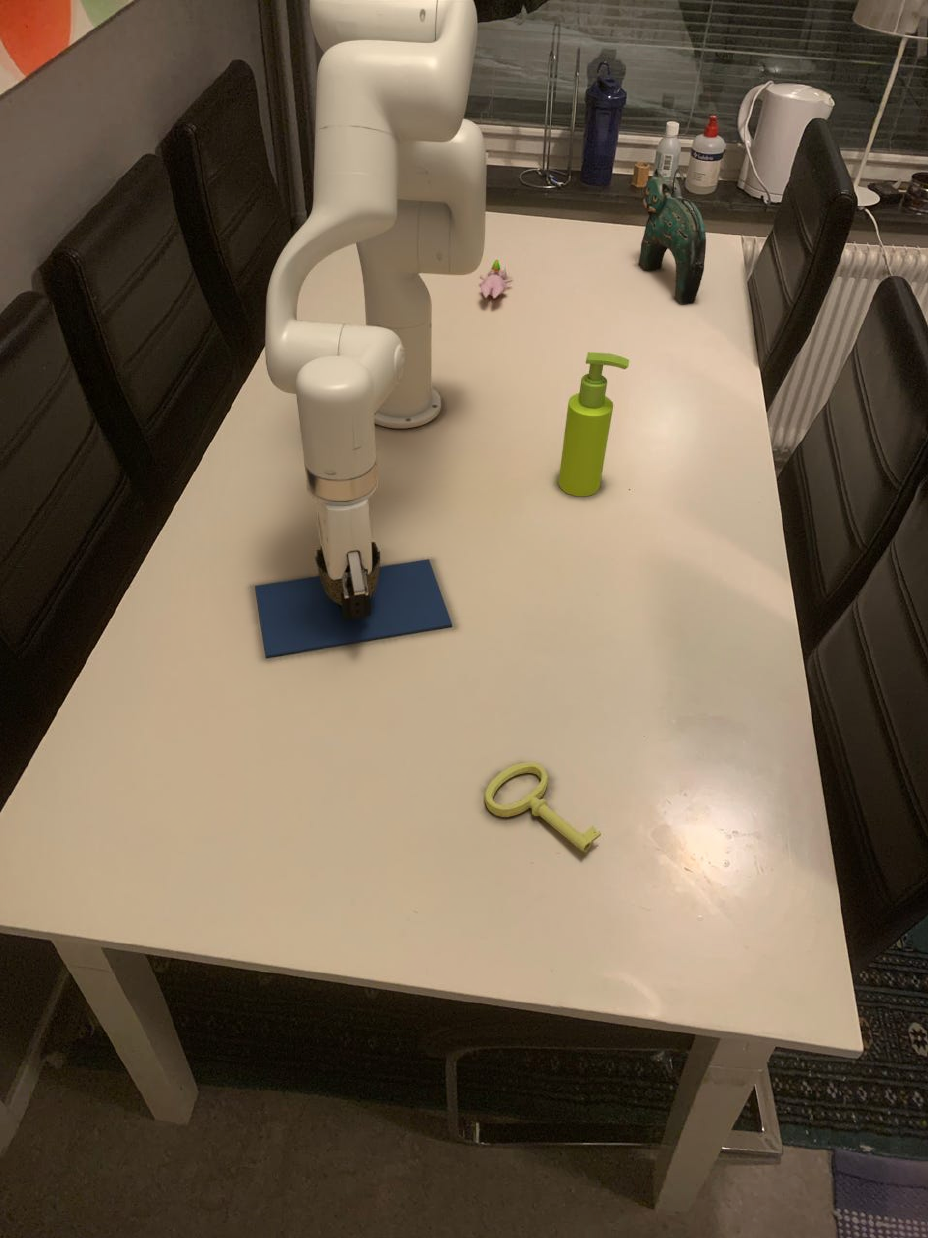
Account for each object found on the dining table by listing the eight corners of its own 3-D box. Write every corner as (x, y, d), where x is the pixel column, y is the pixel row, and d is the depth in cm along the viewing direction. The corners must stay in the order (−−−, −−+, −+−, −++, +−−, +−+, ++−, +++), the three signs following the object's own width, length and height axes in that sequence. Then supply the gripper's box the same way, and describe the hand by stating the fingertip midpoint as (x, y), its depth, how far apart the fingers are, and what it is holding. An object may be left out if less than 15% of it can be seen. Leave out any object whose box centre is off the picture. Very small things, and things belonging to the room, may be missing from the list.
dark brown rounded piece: (392, 592, 112) (390, 542, 106) (368, 632, 107) (365, 583, 102) (336, 577, 114) (331, 527, 108) (310, 616, 109) (304, 566, 103)
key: (588, 863, 87) (590, 851, 86) (476, 806, 91) (476, 794, 90) (617, 808, 92) (620, 795, 90) (509, 756, 96) (510, 744, 94)
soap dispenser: (605, 500, 127) (627, 371, 113) (555, 493, 128) (572, 364, 114) (608, 475, 131) (631, 348, 117) (561, 468, 132) (577, 341, 118)
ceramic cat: (629, 261, 181) (646, 154, 167) (658, 258, 183) (678, 152, 169) (674, 307, 168) (697, 195, 154) (706, 303, 170) (731, 192, 155)
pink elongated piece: (481, 282, 176) (472, 305, 164) (483, 249, 173) (473, 271, 160) (513, 285, 176) (506, 308, 163) (516, 252, 172) (509, 274, 160)
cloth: (255, 588, 113) (254, 585, 112) (429, 561, 117) (429, 559, 117) (266, 658, 104) (265, 655, 104) (452, 626, 109) (452, 624, 109)
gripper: (295, 431, 102) (309, 552, 114) (318, 529, 90) (331, 651, 103) (361, 423, 103) (368, 543, 116) (392, 519, 92) (396, 640, 104)
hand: (351, 593), depth 109 cm, fingers closed on dark brown rounded piece, 7 cm apart
